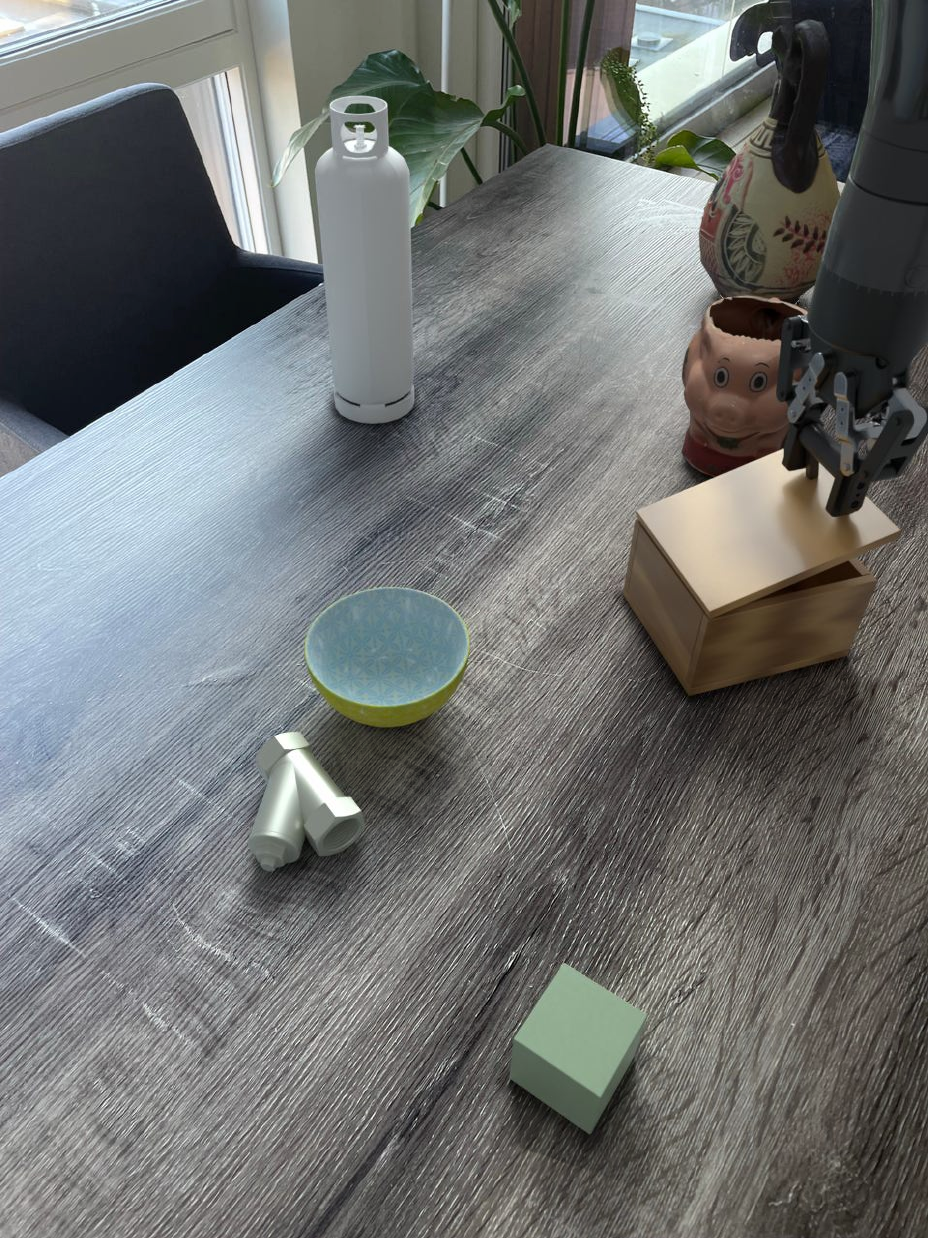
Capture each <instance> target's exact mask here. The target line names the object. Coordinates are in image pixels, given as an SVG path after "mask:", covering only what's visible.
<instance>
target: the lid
mask: <svg viewBox="0 0 928 1238" xmlns="http://www.w3.org/2000/svg"><path fill="white" fill-rule="evenodd" d="M798 440H799V443H800V444H801V445H802V446H803V447H804V448H805V449H806V468H804V469H799V470H795V471H788V470H787V469H786V468H785V467H784V466H783V465H782V460H783V456H784V449H782V450H779V451H777V452H774V453H772V454H770V455H767V456H765V457H762V458H760V459H758V460H755V461H753V462H751V463H748V464H746V465H743V466H741V467H739V468H736V469H734V470H731V471H729V472H727V473H724V474H722V475H719V476H717V477H713V478H710V479H707V480H705V481H703V482H700V483H699V484H696V485H693V486H691V487H689V488H686V489H684V490H681V491H679V492H677V493H674V494H672V495H669V496H667V497H665V498H662V499H660V500H658V501H655V502H653V503H651V504H648V505H646V506H643V507H641V508H639V509H636V510H635V515H636V519H638V520H639V522H640V523H641V524H642V526H643V527H644V529H645V530H646V531H647V533H648V534H649V535H650V537H651V538H652V540H653V541H654V542H655V544H656V545H657V547H658V548H659V549H660V551H661V552H662V553H663V555H664V556H665V558H666V559H667V560H668V562H669V563H670V564H671V566H672V567H673V569H674V570H675V571H676V573H677V574H678V576H679V577H680V578H681V580H682V581H683V582H684V584H685V585H686V587H687V588H688V589H689V591H690V592H691V593H692V595H693V596H694V598H695V599H696V600H697V602H698V603H699V604H700V606H701V607H702V609H703V610H704V611H705V613H706V614H707V616H708V617H709V618H710V619H712V618H714V617H716V616H719V615H721V614H723V613H726V612H728V611H731V610H733V609H735V608H738V607H740V606H742V605H745V604H747V603H749V602H752V601H754V600H756V599H759V598H761V597H763V596H766V595H768V594H770V593H773V592H775V591H777V590H780V589H782V588H784V587H787V586H789V585H791V584H794V583H796V582H799V581H801V580H803V579H806V578H808V577H810V576H813V575H815V574H817V573H820V572H822V571H824V570H827V569H829V568H831V567H834V566H836V565H838V564H841V563H843V562H845V561H848V560H850V559H852V558H855V557H856V558H857V557H859V556H862V555H864V554H867V553H869V552H872V551H874V550H877V549H879V548H881V547H883V546H885V545H887V544H890V543H892V542H894V541H897V540H899V539H901V535H902V529H901V528H899V527H898V525H896V524H895V522H893V520H892V519H890V517H888V516H887V515H886V513H884V511H882V510H881V508H879V506H878V505H876V504H875V503H874V502H873V501H872V499H870V498H869V497H868V496H867V495H866V497H865V500H864V503H863V506H862V508H861V509H860V510H859V511H856V512H854V513H852V514H848V515H843V516H838V517H832V516H831V515H830V514H829V513H828V512H827V511H826V510H825V507H826V504H827V501H828V498H829V495H830V492H831V489H832V486H833V482H834V479H835V476H836V473H837V470H838V469H840V462H841V443H840V442H838V441H837V439H835V438H834V437H833V436H832V435H831V434H830V433H829V432H828V431H827V430H826V429H825V428H823V427H822V426H821V425H820V424H818V423H811V424H809V425H807V426H806V427H804V428H803V429H802V431H801V432H800V434H799V437H798Z"/></svg>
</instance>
